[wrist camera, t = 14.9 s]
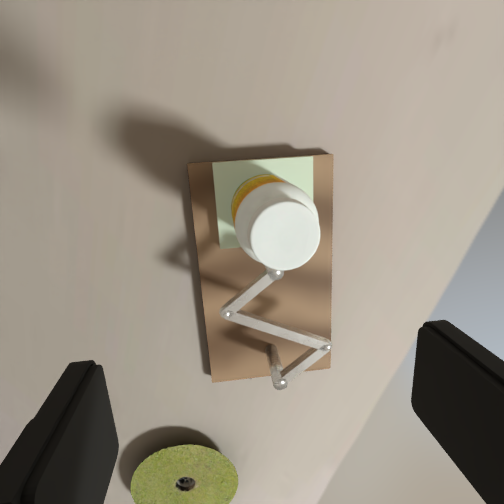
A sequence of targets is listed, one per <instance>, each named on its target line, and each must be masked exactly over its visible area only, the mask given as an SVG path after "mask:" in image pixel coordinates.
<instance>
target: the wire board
mask: <svg viewBox="0 0 504 504" xmlns="http://www.w3.org/2000/svg"><path fill="white" fill-rule="evenodd" d="M305 156H313V203H314V204H315V207H316V209H317V212H318V218H319V226H320V242H319V245H318V248H317V250H316V252H315V253H314V255H313V256H312V257H311V258H310V259H309V260H308V261H307V262H306V263H305V264H303V265H302V266H300V267H298V268H295V269H291V270H284V275H283V277H282V278H281V279H279V280H275V281H273V282H272V283H271V284H270V285H269V286H267V287H266V288H265V289H264V290H262V291H261V292H260V293H259V294H258V295H256V296H255V297H254V298H253V299H252V300H250V301H249V302H248V303H247V304H246V305H244V306H243V307H242V308H241V309H240V310H243V311H246V312H249V313H252V314H255V315H258V316H261V317H264V318H267V319H270V320H273V321H276V322H279V323H282V324H285V325H288V326H291V327H294V328H297V329H300V330H303V331H306V332H309V333H312V334H315V335H318V336H321V337H324V338H327V339H329V340H330V341H331V289H332V219H333V154H320V155H305ZM290 157H300V156H290ZM275 158H285V157H275ZM260 159H270V158H260ZM245 160H255V159H245ZM231 161H240V160H231ZM216 162H226V161H216ZM187 168H188V177H189V185H190V194H191V203H192V211H193V220H194V229H195V237H196V246H197V255H198V263H199V272H200V281H201V289H202V298H203V307H204V316H205V324H206V333H207V342H208V350H209V359H210V368H211V376H212V383H214V382H222V381H230V380H239V379H247V378H255V377H263V376H271V373H270V369H269V365H268V361H267V357H266V353H265V348H266V346H268V345H270V344H273V345H275V346H276V347H277V350H278V353H279V357H280V360H281V363H282V366H283V369H284V368H285V367H287V366H288V365H289V364H291V363H292V362H293V361H294V360H296V359H297V358H298V357H300V356H301V355H302V354H303V353H305V352H306V351H307V350H308V349H310V348H311V347H309V346H306V345H303V344H300V343H297V342H294V341H291V340H288V339H285V338H282V337H279V336H275V335H272V334H269V333H266V332H263V331H260V330H257V329H254V328H251V327H248V326H245V325H241V324H238V323H235V322H232V321H229V320H226V319H224V318H222V317H221V316H220V314H219V310H220V308H221V307H222V306H223V305H224V304H225V303H227V302H228V301H229V300H230V299H231V298H233V297H234V296H235V295H236V294H237V293H239V292H240V291H241V290H242V289H243V288H245V287H246V286H247V285H248V284H249V283H251V282H252V281H253V280H254V279H255V278H257V277H258V276H259V275H260V274H261V273H263V272H264V271H265V270H266V268H265V266H264V264H262V263H260V262H258V261H256V260H254V259H253V258H251V257H250V256H249V255H248V254H247V253H246V252H245V251H244V250H243V249H242V247H238V248H227V249H220V242H219V231H218V220H217V209H216V199H215V188H214V177H213V166H212V162H201V163H188V164H187ZM330 360H331V349H330V351H329V352H328V353H327V354H325V355H324V356H323V357H321V358H320V359H319V360H317V361H316V362H315V363H314V364H312V365H311V366H310V367H308V368H307V369H306V370H305V371H312V370H320V369H329V368H330ZM303 372H304V371H303Z"/></svg>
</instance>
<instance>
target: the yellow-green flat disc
mask: <svg viewBox="0 0 504 504" xmlns="http://www.w3.org/2000/svg"><path fill="white" fill-rule="evenodd" d="M237 486H238V475H237V473H236V470H235V467H234V466H233V464H232V463H231V462H230V461H229V459H227V458H226V457H225V456H224V455H222V454H221V453H219V452H218V451H216V450H214V449H211V448H207V447H204V446H200V445H192V444H188V445H182V446H181V445H178V446H174V447H167V449H161V450H160V451H158V452H155V453H154V454H153V455H150V456H149V457H148V458H146V459H145V460H144V461H143V462H141V464H140V465H139V466H138V468H137V469H136V471H135V472H134V475H133V477H132V480H131V487H130V489H131V495H132V498H133V499H134V502H135V503H136V504H229V503H230V501H231V500H232V499H233V497H234V495H235V493H236V490H237Z"/></svg>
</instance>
